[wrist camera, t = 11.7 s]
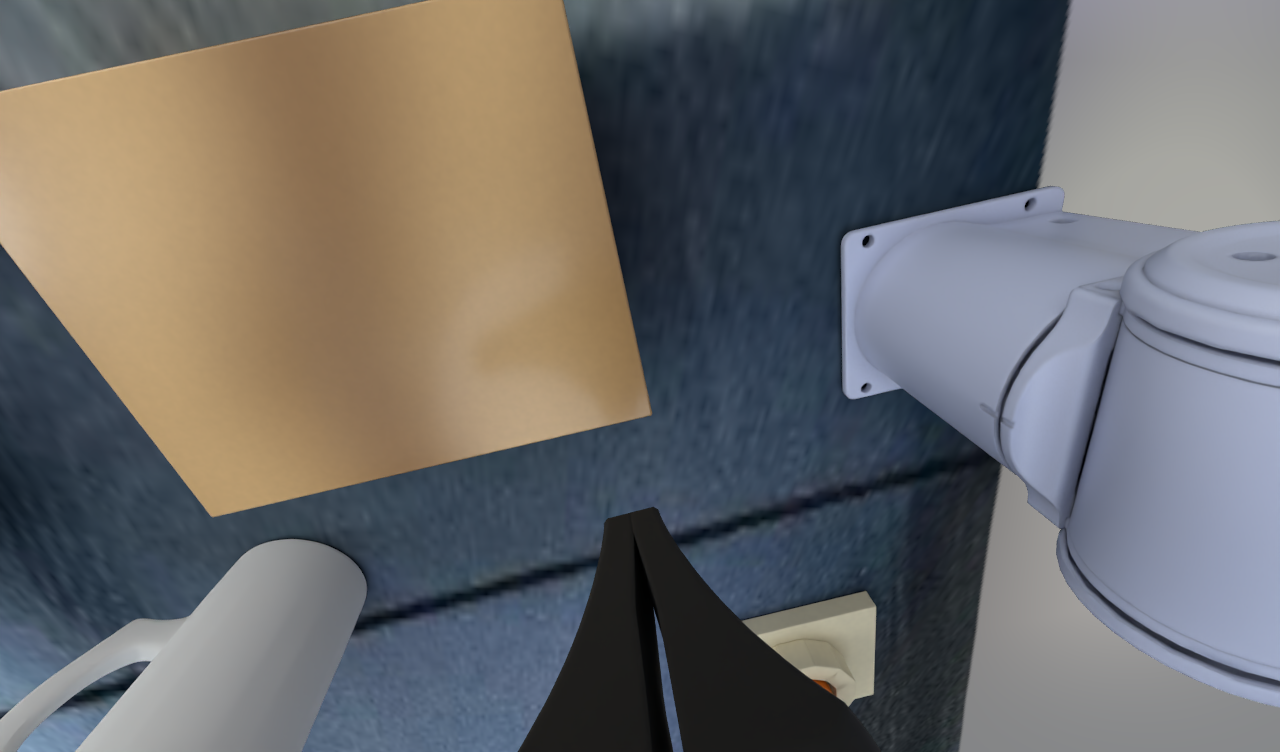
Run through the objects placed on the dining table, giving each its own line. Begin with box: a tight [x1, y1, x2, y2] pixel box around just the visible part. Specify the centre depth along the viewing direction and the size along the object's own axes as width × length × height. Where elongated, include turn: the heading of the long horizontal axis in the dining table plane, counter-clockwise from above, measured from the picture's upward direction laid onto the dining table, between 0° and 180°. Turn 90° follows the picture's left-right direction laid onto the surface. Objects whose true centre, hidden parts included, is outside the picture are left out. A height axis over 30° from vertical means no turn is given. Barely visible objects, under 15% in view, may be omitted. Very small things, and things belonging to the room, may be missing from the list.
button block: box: [742, 591, 876, 707], centre depth 31 cm, size 11×9×3 cm
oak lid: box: [0, 0, 652, 517], centre depth 14 cm, size 14×12×1 cm
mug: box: [0, 539, 367, 752], centre depth 20 cm, size 10×7×12 cm, turn 75°
